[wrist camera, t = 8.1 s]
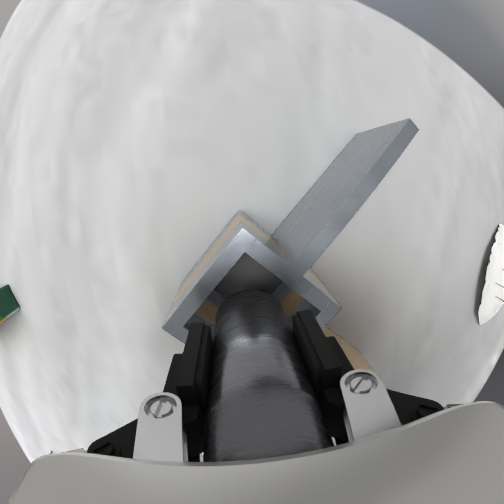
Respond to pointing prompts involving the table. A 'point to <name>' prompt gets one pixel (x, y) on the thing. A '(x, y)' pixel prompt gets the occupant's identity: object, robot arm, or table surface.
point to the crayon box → (7, 303)
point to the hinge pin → (259, 385)
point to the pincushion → (493, 280)
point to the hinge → (295, 239)
